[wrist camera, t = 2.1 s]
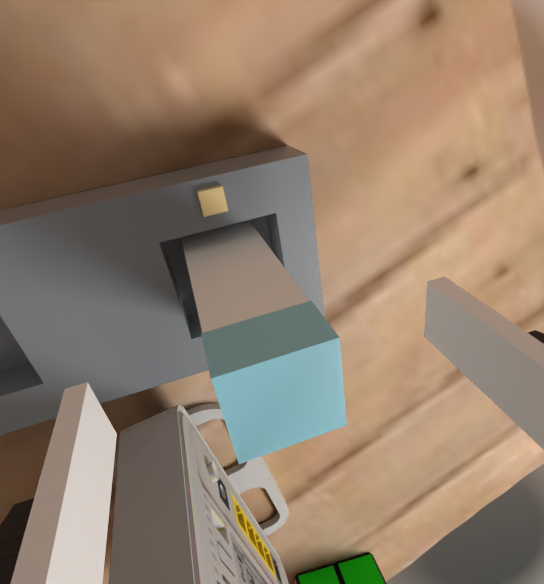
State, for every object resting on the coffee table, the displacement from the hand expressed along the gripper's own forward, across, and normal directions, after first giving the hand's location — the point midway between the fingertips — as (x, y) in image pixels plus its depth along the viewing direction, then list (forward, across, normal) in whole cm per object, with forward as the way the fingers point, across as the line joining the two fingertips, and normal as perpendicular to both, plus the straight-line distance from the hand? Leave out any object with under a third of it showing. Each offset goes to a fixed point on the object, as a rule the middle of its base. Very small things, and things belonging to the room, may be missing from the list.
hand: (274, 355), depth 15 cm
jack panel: (+10, -8, 0) cm, 13 cm away
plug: (+10, 0, 0) cm, 10 cm away
